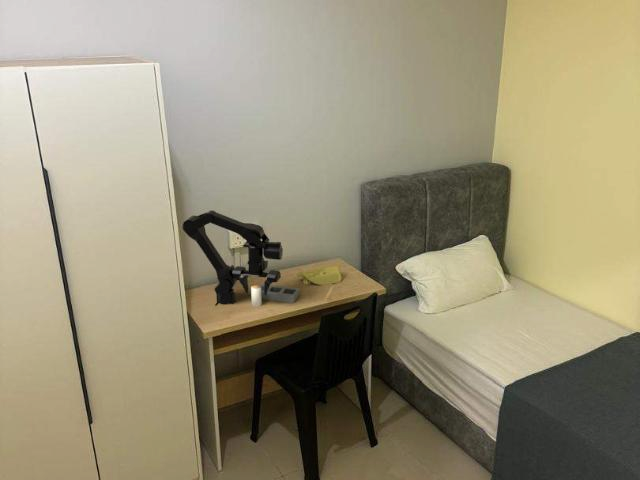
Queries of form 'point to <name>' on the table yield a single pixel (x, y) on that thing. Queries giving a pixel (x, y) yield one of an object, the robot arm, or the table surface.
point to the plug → (256, 295)
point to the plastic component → (321, 276)
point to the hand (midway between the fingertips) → (256, 293)
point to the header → (280, 293)
